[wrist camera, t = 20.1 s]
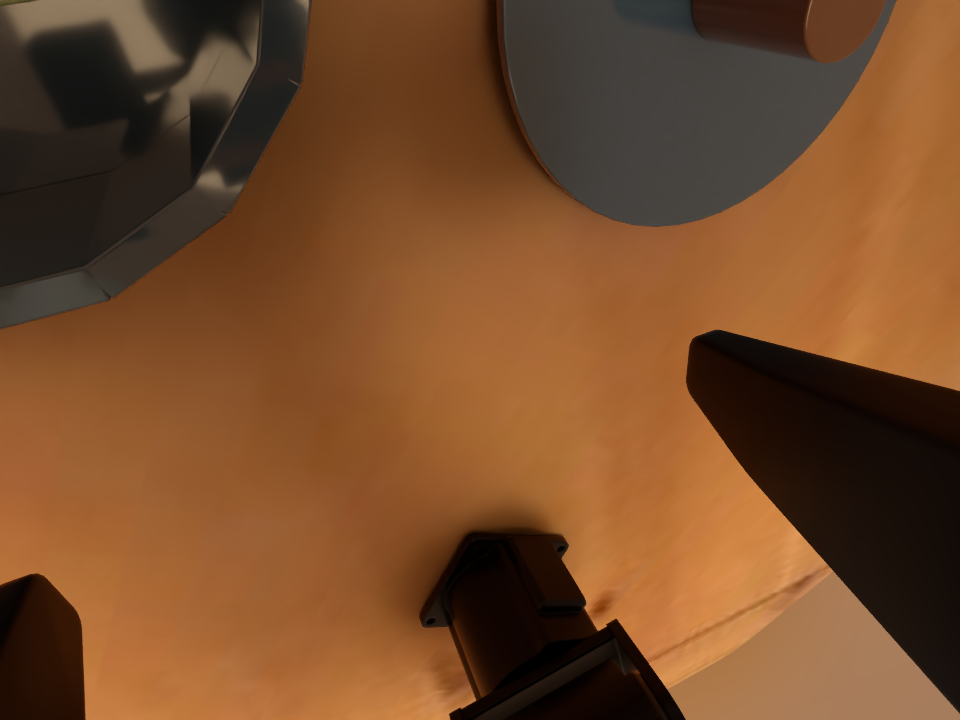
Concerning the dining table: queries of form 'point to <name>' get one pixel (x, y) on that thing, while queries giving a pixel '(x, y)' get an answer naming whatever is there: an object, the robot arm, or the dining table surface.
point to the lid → (678, 94)
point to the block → (13, 2)
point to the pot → (130, 135)
